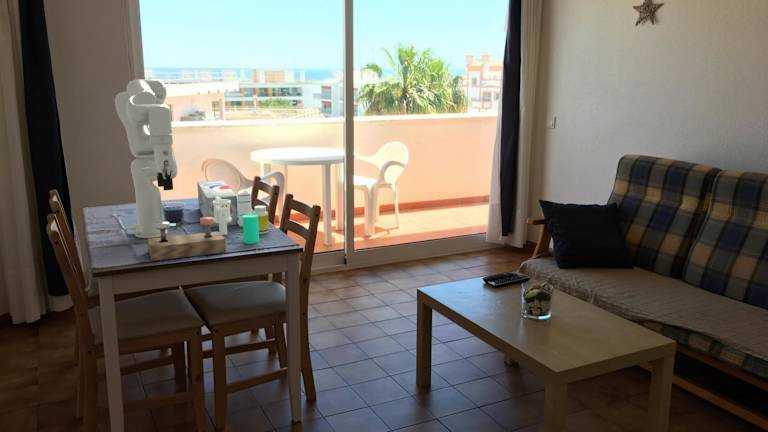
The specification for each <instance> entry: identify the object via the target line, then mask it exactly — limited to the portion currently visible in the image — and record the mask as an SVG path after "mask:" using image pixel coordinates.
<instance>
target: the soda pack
mask: <svg viewBox="0 0 768 432" xmlns="http://www.w3.org/2000/svg"><path fill="white" fill-rule="evenodd" d="M196 183H197V196H198V209H199V211H200V213H201V215H202V218H203V217H214V205H213V201H214V200H215V198H216V197H219V198H222V199H227V200H231V204H230V217H231V218H232V221H231V222H227V227H230V226H231V227H232V226H238V225H239V215H238V200H237V194H236V193H235V192H234V191H233V190H232V188H230V187H229V185H228V184H227V183H226V182H225V180H223V179H218V180H205V181H204V180H203V181H202V180H201V181H197V182H196ZM219 203H224V202H219ZM224 206H226V207H227V205H222V207H224ZM214 218H215V217H214ZM216 227H217V228H219V223H215V222H214V224H212V225H210V228H216Z"/></svg>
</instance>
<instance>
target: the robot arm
mask: <svg viewBox="0 0 768 432" xmlns="http://www.w3.org/2000/svg"><path fill="white" fill-rule="evenodd" d="M125 89H126V90H125V91H122V92H119V93H118V94H116V96H115V98H114V104H115V109H116V110H115V111H116V112H117V113H116V114H117V115H118V118H119V120H120V121H121V122H122V123H121V124H123V126H124V128H125V133H126V136H127V141H128V145H129V146H128V147H129V150H130V153H131V154H132V155H133V156H134V157H135V158H136V159H134V160H132V161H131V163H130V172H131V175H132V180H133V181H132V182H133V186H134V191H135V192H134V193H135V202H136V203H135V204H136V213H137V214H136V215H137V223H131V225H130V229H131V230H135V232H134V236H135V237H136V238H139V239H152V238H161V234H160V230H157V229H155V223H156V222H159V221H164V220H163V207H162V195H161V190H160V188H159V187H161V188H162V187H163V191H173V190H174V184H173V183H174V182H173V179H176V177H177V175H178V165H177V161H176V156H175V152H174V148H173V144H174V143H173V142H174V141H173V130H172V127H173V126H172V116H171V115H172V111H171V108H170V107H169V106H168V105H167V104H164V102H165V101H166V99H167V98H166V97H167V87H166V85H165V83H164V81H162V80H161V79H158V78H157V79H155V78H147V79H145V78H144V79H142V78H139V79H138V78H137V79H133V80H131V81H129V82H128V83H127V85H126V88H125ZM156 181H157V185H156V184H155V183H154V182H156ZM165 231H166V235H168V233H169V232H168V229H165Z"/></svg>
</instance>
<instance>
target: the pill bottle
mask: <svg viewBox="0 0 768 432" xmlns="http://www.w3.org/2000/svg"><path fill="white" fill-rule="evenodd" d="M253 208H254V209H253V210H254V211H253V212H252V215H257V216H258V227H259V235H264V234H265V235H266V234H268V233H269V232H270V230H269V229H270V228H269V212H268V211H267V206H266V205H255V206H254V207H253Z"/></svg>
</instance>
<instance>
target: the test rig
mask: <svg viewBox="0 0 768 432" xmlns="http://www.w3.org/2000/svg"><path fill="white" fill-rule="evenodd" d="M210 233H211V237H209V238H206V233H205V232H201V233H192V234H191V233H190V234H182V235H172V236H171V235H170V236H166V242H163V243H162V242H161V237H156V238H146V240H147V249H148V250H147V251H148V254H150V255H149V256H151V257H150V259H151V261H152V262H153V260H154V261H160V260H169V259H177V258H185V257H194V256H205V255H211V254H218V253H226V252H227V246H226V238H225V237H224V235H221V234H220V231H210Z"/></svg>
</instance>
